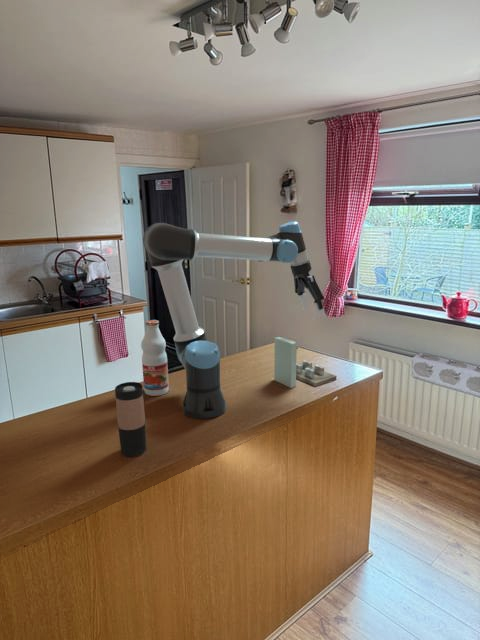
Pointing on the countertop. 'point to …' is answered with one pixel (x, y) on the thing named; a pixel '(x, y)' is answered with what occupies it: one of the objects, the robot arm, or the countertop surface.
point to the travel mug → (131, 418)
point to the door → (285, 361)
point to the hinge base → (313, 374)
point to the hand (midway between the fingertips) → (313, 312)
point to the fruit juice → (154, 360)
